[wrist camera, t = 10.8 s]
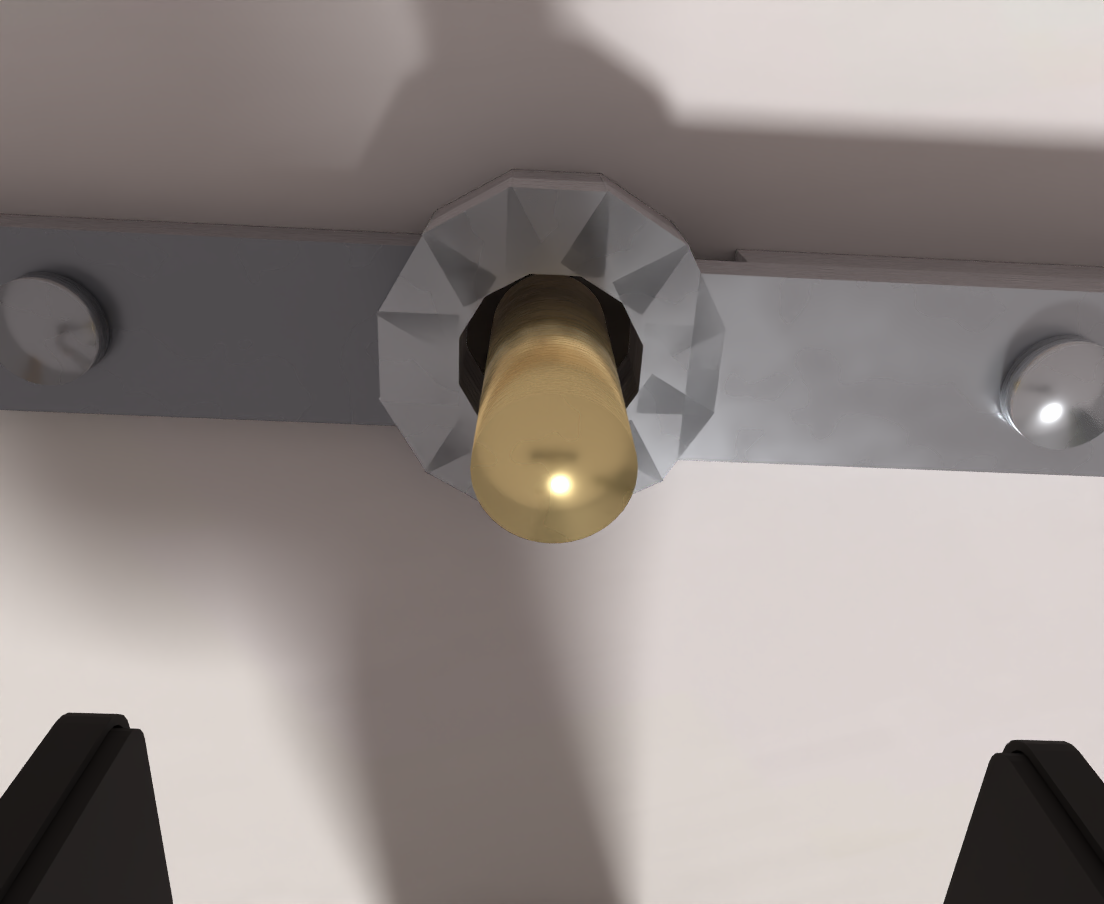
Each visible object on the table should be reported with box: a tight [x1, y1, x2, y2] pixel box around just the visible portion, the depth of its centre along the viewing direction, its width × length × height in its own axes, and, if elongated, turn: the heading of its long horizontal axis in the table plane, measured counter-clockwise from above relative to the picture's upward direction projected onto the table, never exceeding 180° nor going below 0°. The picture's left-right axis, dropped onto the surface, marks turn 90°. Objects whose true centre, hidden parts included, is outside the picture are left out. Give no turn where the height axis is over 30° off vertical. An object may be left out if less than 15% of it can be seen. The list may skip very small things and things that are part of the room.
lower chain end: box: [0, 169, 680, 426], centre depth 24 cm, size 22×9×2 cm, turn 87°
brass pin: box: [470, 274, 638, 543], centre depth 21 cm, size 3×3×9 cm
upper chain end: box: [377, 177, 1104, 500], centre depth 24 cm, size 22×9×4 cm, turn 87°
